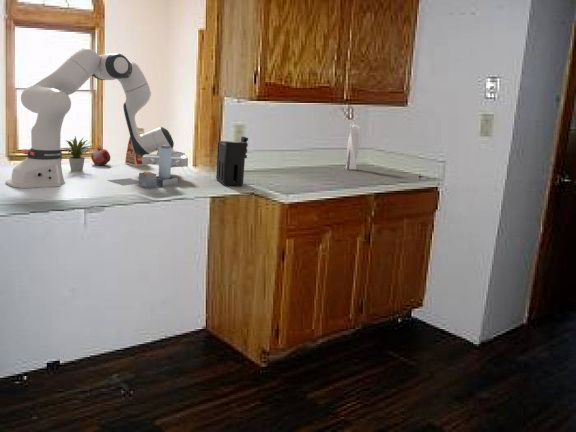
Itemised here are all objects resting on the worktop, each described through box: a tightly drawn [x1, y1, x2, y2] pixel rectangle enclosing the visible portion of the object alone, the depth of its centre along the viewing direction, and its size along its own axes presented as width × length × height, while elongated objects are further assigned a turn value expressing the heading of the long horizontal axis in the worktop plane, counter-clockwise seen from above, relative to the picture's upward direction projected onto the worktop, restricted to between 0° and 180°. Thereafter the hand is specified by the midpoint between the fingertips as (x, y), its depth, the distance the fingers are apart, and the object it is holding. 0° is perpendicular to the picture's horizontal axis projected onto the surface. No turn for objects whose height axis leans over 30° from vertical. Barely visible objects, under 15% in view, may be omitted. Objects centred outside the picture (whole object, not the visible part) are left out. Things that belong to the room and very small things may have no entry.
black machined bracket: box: [215, 136, 249, 187], centre depth 279 cm, size 12×21×22 cm, turn 21°
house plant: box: [63, 135, 92, 173], centre depth 275 cm, size 14×14×16 cm
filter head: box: [135, 172, 179, 190], centre depth 255 cm, size 16×10×6 cm, turn 140°
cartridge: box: [158, 145, 171, 179], centre depth 256 cm, size 5×5×17 cm
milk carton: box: [124, 126, 149, 167], centre depth 308 cm, size 9×9×20 cm
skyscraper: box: [342, 121, 362, 171], centre depth 354 cm, size 8×8×28 cm
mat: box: [106, 178, 139, 186], centre depth 257 cm, size 12×12×1 cm
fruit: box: [90, 145, 111, 166], centre depth 297 cm, size 9×10×10 cm
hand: (164, 163), depth 259 cm, fingers open, 8 cm apart
